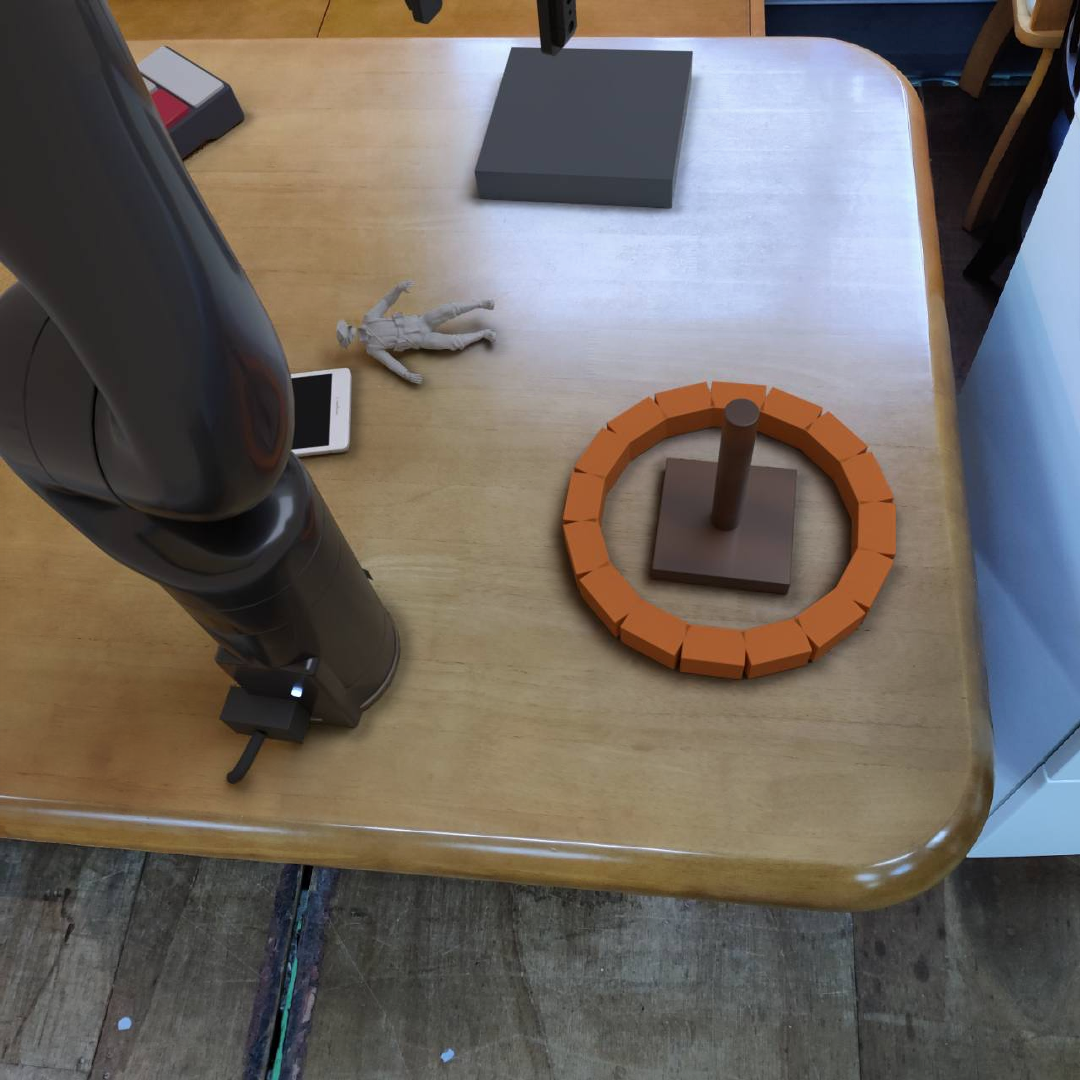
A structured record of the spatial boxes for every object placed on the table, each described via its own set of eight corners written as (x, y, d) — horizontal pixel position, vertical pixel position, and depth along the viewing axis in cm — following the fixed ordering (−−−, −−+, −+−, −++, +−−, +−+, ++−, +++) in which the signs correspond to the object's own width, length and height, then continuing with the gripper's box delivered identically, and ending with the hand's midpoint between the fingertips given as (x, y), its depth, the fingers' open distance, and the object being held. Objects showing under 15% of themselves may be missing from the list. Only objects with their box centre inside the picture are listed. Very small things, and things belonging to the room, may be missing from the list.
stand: (671, 208, 81) (672, 179, 79) (479, 198, 84) (474, 170, 82) (691, 80, 89) (692, 50, 87) (515, 75, 92) (511, 46, 90)
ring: (887, 698, 59) (896, 685, 57) (543, 654, 63) (539, 639, 61) (888, 415, 69) (896, 395, 67) (591, 391, 73) (590, 371, 71)
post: (787, 594, 63) (820, 486, 51) (651, 579, 65) (653, 470, 53) (794, 480, 67) (826, 356, 55) (666, 468, 69) (671, 345, 57)
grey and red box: (37, 126, 89) (161, 36, 93) (63, 162, 93) (181, 75, 97) (102, 174, 85) (228, 78, 89) (126, 210, 89) (247, 117, 93)
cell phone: (155, 395, 76) (152, 390, 76) (352, 371, 76) (350, 366, 75) (143, 476, 73) (139, 471, 72) (349, 452, 72) (347, 447, 71)
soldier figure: (500, 378, 75) (348, 389, 71) (482, 375, 80) (338, 385, 76) (495, 277, 74) (338, 282, 70) (476, 279, 78) (329, 284, 74)
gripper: (261, -309, 42) (355, 42, 56) (546, -272, 37) (570, 99, 51) (355, -376, 45) (422, -27, 59) (629, -349, 40) (631, 21, 54)
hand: (491, 31), depth 55 cm, fingers open, 8 cm apart
